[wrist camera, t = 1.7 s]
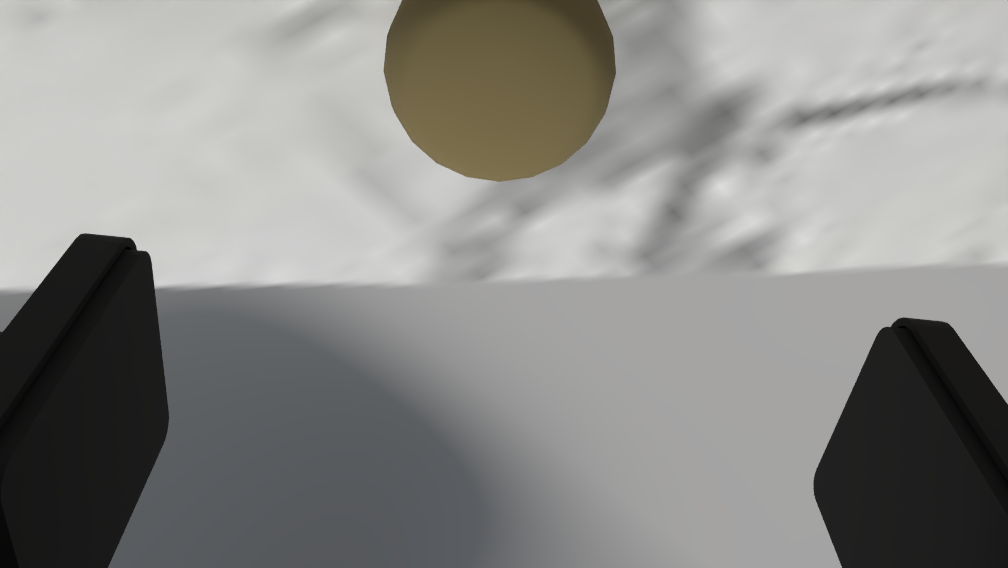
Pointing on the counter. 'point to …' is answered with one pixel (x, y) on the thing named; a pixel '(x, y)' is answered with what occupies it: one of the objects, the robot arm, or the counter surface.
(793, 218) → the counter surface
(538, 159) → the cork
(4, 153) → the counter surface
